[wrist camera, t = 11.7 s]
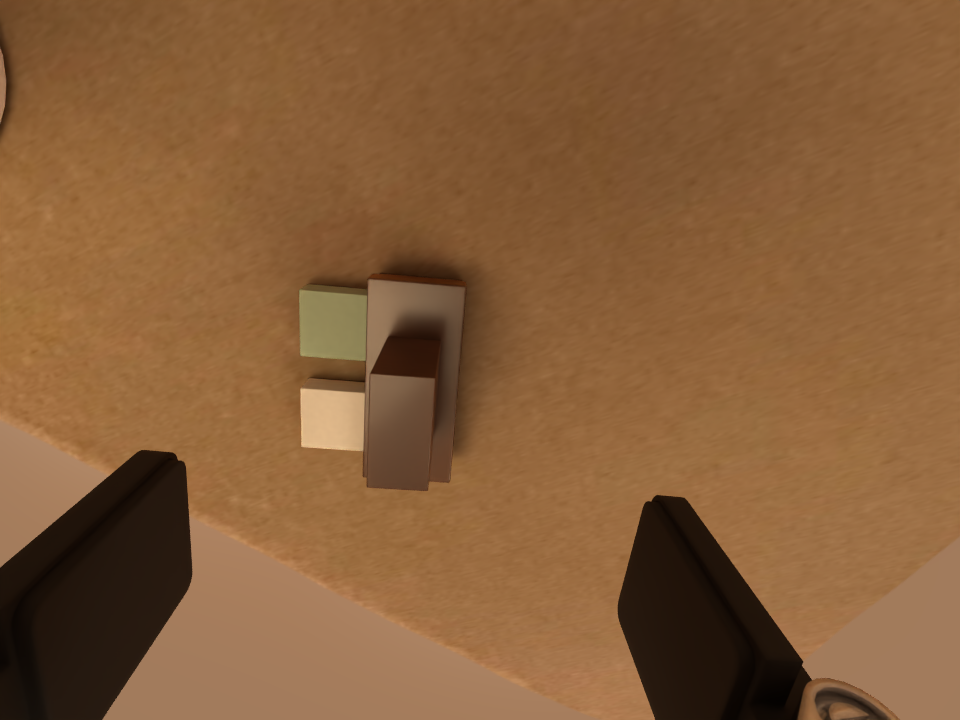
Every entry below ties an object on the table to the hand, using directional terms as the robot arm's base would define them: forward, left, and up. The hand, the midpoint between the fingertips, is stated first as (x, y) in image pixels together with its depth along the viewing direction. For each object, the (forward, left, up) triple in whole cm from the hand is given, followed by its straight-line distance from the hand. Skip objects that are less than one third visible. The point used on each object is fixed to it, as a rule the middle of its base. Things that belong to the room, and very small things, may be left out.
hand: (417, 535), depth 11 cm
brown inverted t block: (-2, -5, -22) cm, 23 cm away
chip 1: (-6, -2, -22) cm, 23 cm away
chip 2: (-6, -8, -22) cm, 24 cm away
